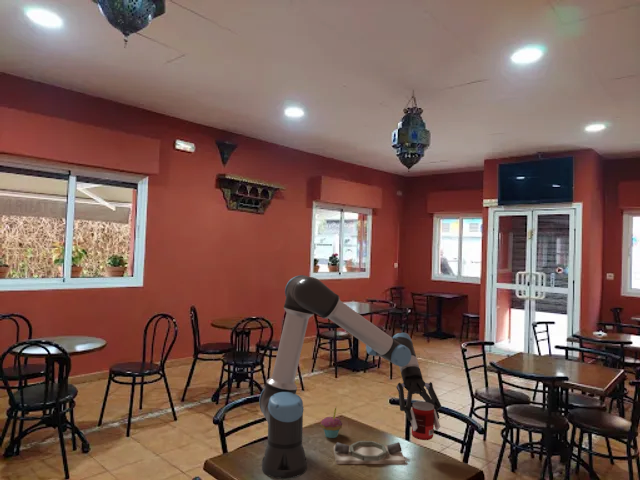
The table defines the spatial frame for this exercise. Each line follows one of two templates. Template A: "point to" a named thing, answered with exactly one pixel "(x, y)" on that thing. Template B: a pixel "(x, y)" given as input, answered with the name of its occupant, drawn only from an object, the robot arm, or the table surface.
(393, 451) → the plate
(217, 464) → the table surface
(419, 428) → the canned food
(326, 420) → the cupcake
